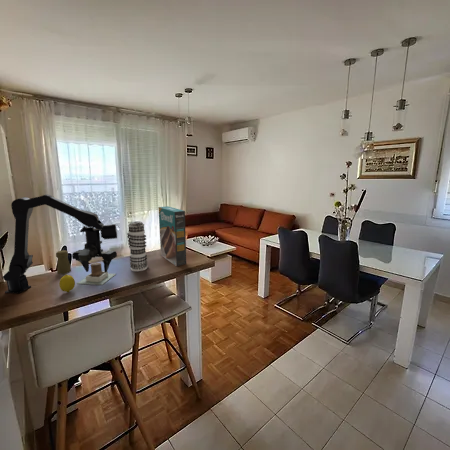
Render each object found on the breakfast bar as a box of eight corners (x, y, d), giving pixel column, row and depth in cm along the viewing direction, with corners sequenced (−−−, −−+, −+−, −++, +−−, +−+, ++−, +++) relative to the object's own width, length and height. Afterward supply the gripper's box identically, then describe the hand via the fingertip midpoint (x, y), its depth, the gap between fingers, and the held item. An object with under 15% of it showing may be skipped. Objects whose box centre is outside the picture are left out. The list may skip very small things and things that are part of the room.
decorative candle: (127, 267, 132) (123, 221, 127) (144, 263, 138) (141, 219, 133) (132, 273, 125) (129, 224, 120) (150, 268, 131) (147, 222, 125)
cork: (74, 269, 129) (71, 249, 126) (63, 274, 123) (61, 253, 121) (64, 268, 130) (62, 248, 128) (54, 273, 124) (51, 252, 122)
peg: (90, 280, 116) (88, 265, 114) (95, 276, 120) (94, 262, 119) (99, 280, 116) (97, 266, 114) (104, 276, 120) (103, 262, 118)
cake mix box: (160, 255, 152) (158, 207, 146) (170, 253, 155) (168, 206, 149) (176, 266, 135) (174, 211, 128) (186, 263, 138) (184, 210, 132)
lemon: (59, 292, 105) (56, 274, 103) (74, 288, 108) (71, 271, 107) (62, 296, 101) (59, 278, 99) (77, 292, 105) (75, 274, 103)
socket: (77, 283, 113) (76, 278, 112) (93, 273, 124) (92, 268, 124) (102, 285, 112) (101, 279, 111) (116, 274, 123) (115, 269, 123)
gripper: (61, 244, 107) (66, 278, 110) (102, 246, 105) (106, 280, 109) (78, 238, 118) (82, 268, 121) (116, 239, 116) (118, 270, 119)
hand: (96, 272), depth 117 cm, fingers open, 9 cm apart
